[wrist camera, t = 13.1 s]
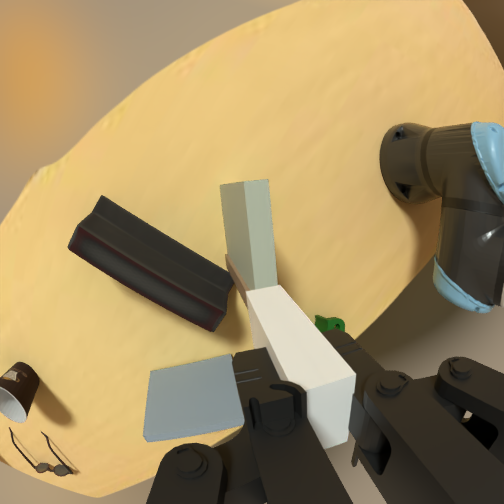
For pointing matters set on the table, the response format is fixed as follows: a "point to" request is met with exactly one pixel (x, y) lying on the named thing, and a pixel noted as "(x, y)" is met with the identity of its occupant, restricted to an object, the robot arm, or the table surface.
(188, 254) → the barrier
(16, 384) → the coffee mug
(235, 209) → the door frame
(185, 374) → the door
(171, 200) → the table surface
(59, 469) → the eyeglasses
